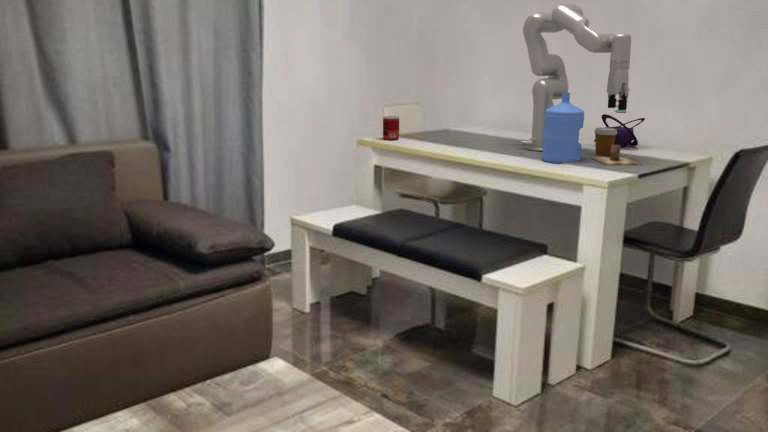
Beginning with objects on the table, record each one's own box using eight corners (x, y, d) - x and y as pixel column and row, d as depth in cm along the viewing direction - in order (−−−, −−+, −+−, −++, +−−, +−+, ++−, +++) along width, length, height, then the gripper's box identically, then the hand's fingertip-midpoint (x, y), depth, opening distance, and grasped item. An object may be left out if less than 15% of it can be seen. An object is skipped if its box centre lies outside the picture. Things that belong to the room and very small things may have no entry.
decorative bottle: (652, 149, 332) (657, 94, 326) (612, 151, 326) (617, 95, 319) (622, 142, 353) (627, 90, 346) (584, 143, 346) (589, 90, 340)
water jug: (557, 165, 290) (562, 94, 283) (534, 158, 304) (538, 91, 297) (588, 162, 296) (594, 93, 289) (564, 156, 310) (569, 90, 303)
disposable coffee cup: (611, 159, 305) (614, 131, 302) (589, 157, 310) (591, 129, 307) (617, 156, 313) (620, 128, 310) (595, 154, 318) (598, 126, 315)
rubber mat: (600, 168, 285) (600, 165, 285) (585, 161, 300) (585, 158, 300) (644, 167, 287) (644, 165, 287) (626, 160, 302) (627, 158, 302)
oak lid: (604, 165, 286) (606, 148, 284) (591, 159, 299) (592, 142, 298) (638, 165, 287) (640, 148, 286) (623, 158, 301) (625, 142, 299)
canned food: (401, 139, 354) (402, 116, 351) (393, 141, 347) (393, 118, 344) (388, 137, 358) (388, 115, 355) (379, 139, 351) (380, 117, 348)
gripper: (601, 65, 297) (599, 107, 301) (620, 66, 281) (617, 110, 284) (619, 65, 298) (616, 107, 302) (638, 66, 282) (635, 110, 285)
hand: (616, 108), depth 293 cm, fingers open, 9 cm apart
